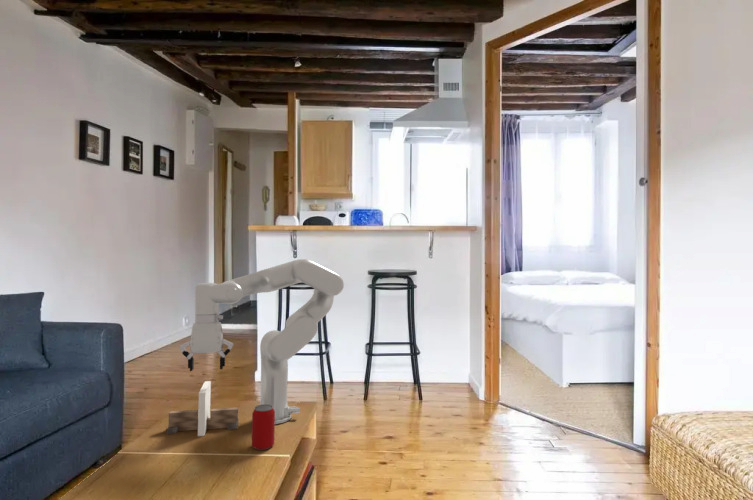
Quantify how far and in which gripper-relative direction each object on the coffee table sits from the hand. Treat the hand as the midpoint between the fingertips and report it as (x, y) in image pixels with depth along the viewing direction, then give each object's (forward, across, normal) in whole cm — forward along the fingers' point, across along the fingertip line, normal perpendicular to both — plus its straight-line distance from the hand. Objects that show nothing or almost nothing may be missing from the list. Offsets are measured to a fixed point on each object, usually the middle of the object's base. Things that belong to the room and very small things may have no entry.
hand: (206, 369), depth 151 cm
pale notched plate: (+20, +1, 0) cm, 20 cm away
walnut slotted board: (+20, +1, 0) cm, 20 cm away
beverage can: (+20, -19, +19) cm, 34 cm away
